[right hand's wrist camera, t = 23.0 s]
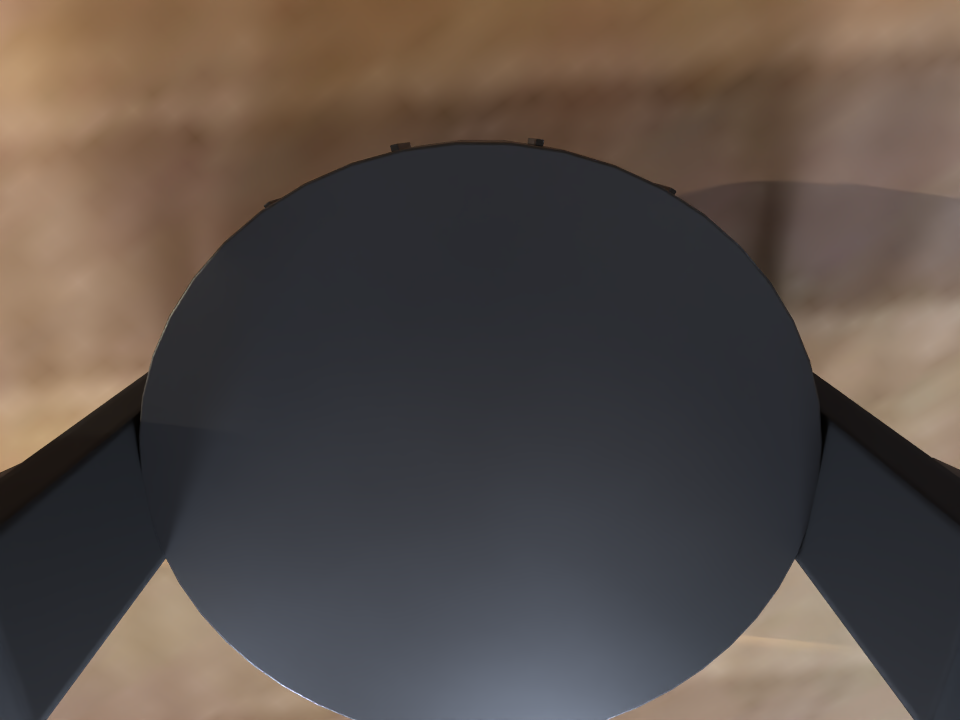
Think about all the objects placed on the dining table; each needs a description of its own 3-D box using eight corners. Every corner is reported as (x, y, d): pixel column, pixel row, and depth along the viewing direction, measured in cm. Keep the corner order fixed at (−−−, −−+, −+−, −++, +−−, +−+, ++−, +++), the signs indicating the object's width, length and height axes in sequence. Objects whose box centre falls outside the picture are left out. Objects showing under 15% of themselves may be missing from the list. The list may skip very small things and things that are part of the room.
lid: (624, 703, 14) (648, 799, 12) (153, 577, 13) (92, 660, 11) (877, 267, 11) (970, 299, 9) (261, 36, 10) (201, 10, 8)
